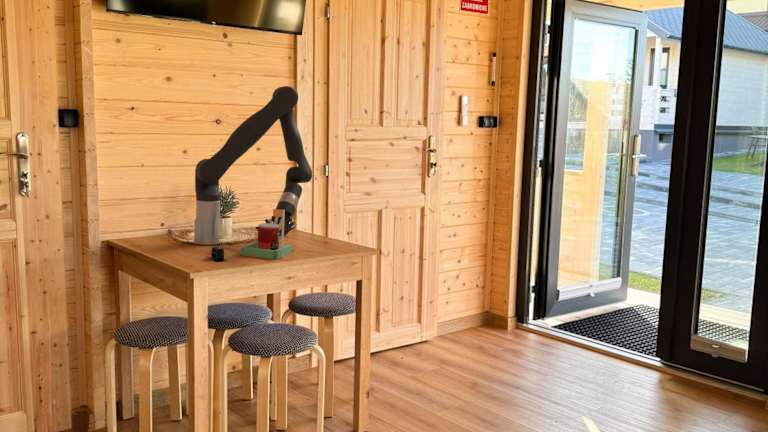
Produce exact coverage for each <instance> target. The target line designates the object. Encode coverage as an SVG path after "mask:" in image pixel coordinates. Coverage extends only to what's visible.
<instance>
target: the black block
mask: <svg viewBox="0 0 768 432" xmlns="http://www.w3.org/2000/svg"><path fill="white" fill-rule="evenodd" d="M224 249H225V248H223V247H220V246H214V247H211V254H210V256H205V258H206V259H209V260H210V261H213V262H215V263H223V262H229V261H228V260H229V259H228V258H225V250H224Z"/></svg>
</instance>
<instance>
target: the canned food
mask: <svg viewBox="0 0 768 432" xmlns="http://www.w3.org/2000/svg"><path fill="white" fill-rule="evenodd" d="M257 225H258V226H257V241H258V249H267V250H277V249H279V248H280V237H279V225H278V224H273V222H272V223H266V222H263V223H258V224H257Z"/></svg>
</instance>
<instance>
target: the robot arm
mask: <svg viewBox="0 0 768 432" xmlns="http://www.w3.org/2000/svg"><path fill="white" fill-rule="evenodd" d="M271 96H272V97H271V99H270V100H269V101H268V102H267V103H266V105H265V106H263V107H262V108H261V109H260V110H258V111H256V112H255V113H253V114H251V115H250V116H249V117H248V118H247V119H245V120H244V121H243V122H242V123H241V124H240V125H239V126H237V127H236V129H234V130H233V132H232V133H231V134H230V136H229V137H228V138H227V140H226V142H225V144H224V145H222V147H221V148H220V149H219V150H218V151H217V152H216V153H215V154H214V155H213V156H211V157H210V158H203V159H201V160H199V161H198V163H196V165H195V170H194V183H195V184H194V185H195V187H194V188H195V219H194V234H193V236H194V242H193V243H194V245H195V244H197V245H200V246H201V245H203V246H205V245H206V246H212V245H213V246H215V245H218V243H219V244H220V240H221V239H220V236H221V235H220V234H221V233H220V232H221V231H220V230H221V229H220V227H221V225H220V224H221V192H220V180H221V178H222V177H223V176H224V175H225V174H226V172H227V171H229V169H230V168H231V166H232V165H234V163H235V162H236V161H237V160H239V158H241V157H242V156H243V155H245V154H246V153H247V152H248V151H249V150H250V149H251V148H253V146H254V145H255V144H257V143H258V142H259V140H261V138H262V137H263V136H265V135H266V133H267V132H268V131H269V130H270V129H271V128H272V127H273V125H274V124H275V123H276V122H277V121H278V120H279V123H280V127H281V131H282V136H283V142H284V146H285V147H284V148H285V151H286V157H287V159H288V161H290V162H293V163H296V164H297V166H291V167H289V168H288V169H287V171H286V173H285V187H284V189H283V191H282V194H281V195H280V198H279V200H278V202H277V204H276V207H275V209H278V210H285V213H284V236H285V235H287V234H288V233H289V232H291V231H292V230H294V229H295V228H296V224H295V223H296V222H294V221H293V219H294V216H295V213H296V210H297V209H298V205H299V201H300V198H301V196H302V192H303V188H302V187H303V186H301V185H300V184H303V183H304V184H305V183H310V181H311V180H312V178H313V171H312V168H311V165H310V164H309V161H308V159H307V157H306V154H305V152H304V151H305V150H304V145H303V141H302V138H301V137H302V136H301V133H300V131H299V128H298V126H297V122H296V120H295V114H294V107H296V105H297V104H298V101H299V93H298V91H297V89H295V87H292V86H287V85H285V86H284V85H283V86H279V87H277V88H275V90H274V91H273V93H272V95H271ZM264 223H273V224H278V225H279V238H280V237H281V236H282V217H277V216H273V215H272V216H271V218H269V219H267V218H266V219H264Z"/></svg>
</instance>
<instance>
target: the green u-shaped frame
mask: <svg viewBox="0 0 768 432" xmlns="http://www.w3.org/2000/svg"><path fill="white" fill-rule="evenodd" d="M272 210H273V211H272V216H277V217H282V235H281V236H280V237H281V241H280V245H281V246H280V247H279V249H277V250H267V249H258V240H257V241H254V242H251V243H248V244H246V245H242V246H241V247H240V256H245V257H253V258H254V257H255V258H262V259H269V260H278V259H281V260H282V258H283V259H284V257H285V256H287V255H289V254H291V253H292V252H293V244H288V245H285V246H284V241H285V239H284V238H285V237H284V236H285V235H284V213H285V210H278V209H276V208H274V209H272Z"/></svg>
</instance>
